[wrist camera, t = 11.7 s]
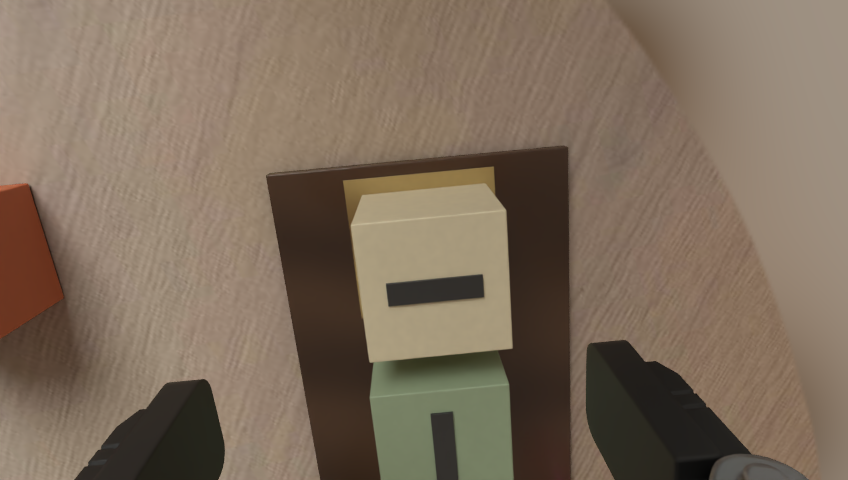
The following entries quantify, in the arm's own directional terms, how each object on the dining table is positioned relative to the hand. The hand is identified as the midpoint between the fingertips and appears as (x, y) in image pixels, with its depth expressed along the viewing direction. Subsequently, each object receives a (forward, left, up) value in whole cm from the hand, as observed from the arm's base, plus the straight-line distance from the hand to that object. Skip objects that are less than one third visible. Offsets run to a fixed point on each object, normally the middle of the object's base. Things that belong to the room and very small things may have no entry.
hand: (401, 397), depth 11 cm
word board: (+7, +1, -12) cm, 13 cm away
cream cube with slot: (0, +1, -11) cm, 11 cm away
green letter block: (+7, +1, -11) cm, 13 cm away
